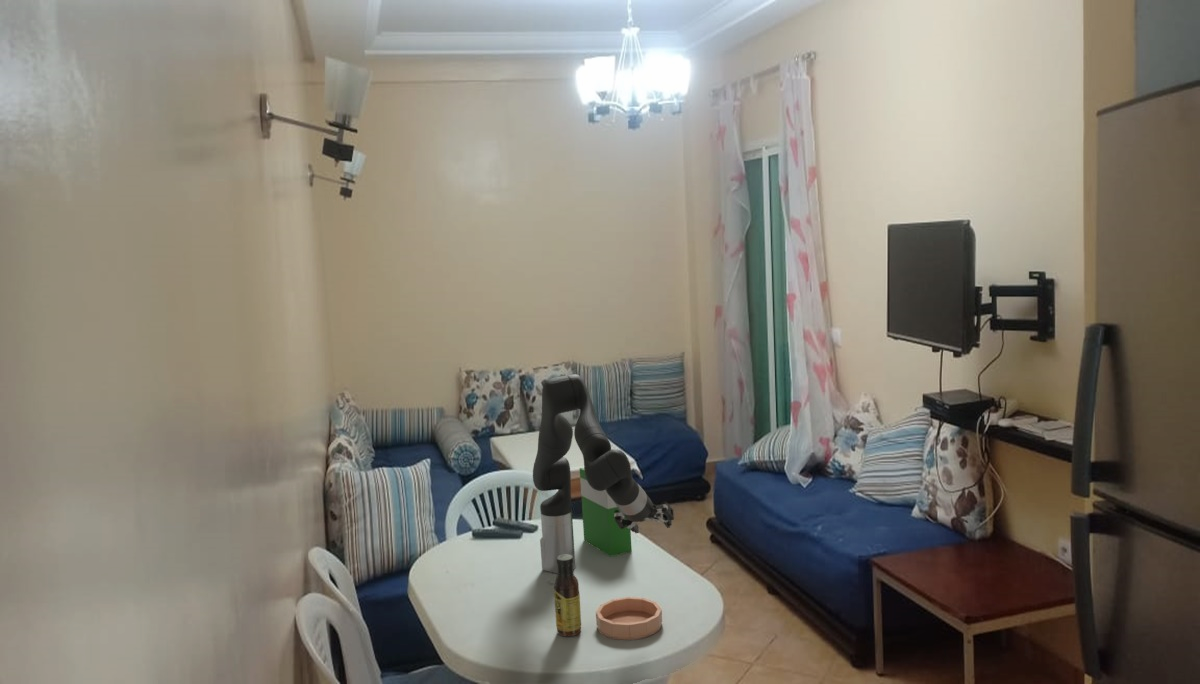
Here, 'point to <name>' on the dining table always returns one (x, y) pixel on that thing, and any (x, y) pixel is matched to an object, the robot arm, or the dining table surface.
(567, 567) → the sauce bottle
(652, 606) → the terracotta bowl
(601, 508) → the hardback book
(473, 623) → the dining table surface
